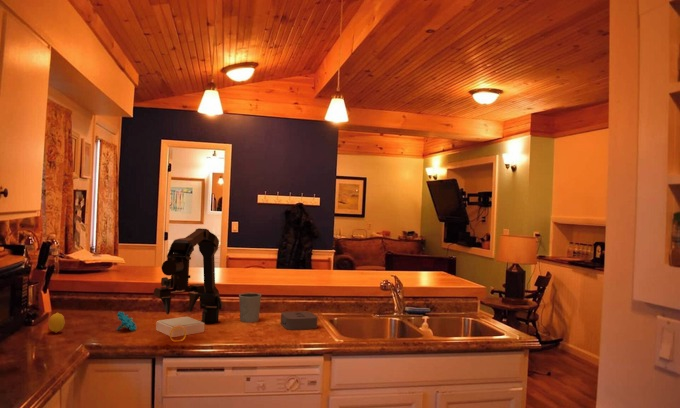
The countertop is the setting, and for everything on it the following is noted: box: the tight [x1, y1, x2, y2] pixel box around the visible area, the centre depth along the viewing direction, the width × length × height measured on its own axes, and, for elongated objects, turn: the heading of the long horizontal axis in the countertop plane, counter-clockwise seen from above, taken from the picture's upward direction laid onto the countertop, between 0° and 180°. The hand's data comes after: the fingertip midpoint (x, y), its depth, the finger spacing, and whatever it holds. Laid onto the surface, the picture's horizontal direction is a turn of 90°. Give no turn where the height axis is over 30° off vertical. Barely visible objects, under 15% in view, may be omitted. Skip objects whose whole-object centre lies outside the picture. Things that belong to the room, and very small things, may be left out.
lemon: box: [47, 312, 66, 334], centre depth 188 cm, size 6×6×8 cm
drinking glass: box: [238, 292, 262, 324], centre depth 223 cm, size 10×10×12 cm
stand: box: [155, 316, 206, 338], centre depth 199 cm, size 14×14×4 cm
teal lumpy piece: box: [116, 311, 137, 332], centre depth 197 cm, size 11×6×10 cm
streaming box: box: [280, 310, 319, 331], centre depth 217 cm, size 14×14×5 cm
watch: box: [169, 325, 187, 343], centre depth 184 cm, size 6×3×6 cm, turn 114°
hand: (179, 312), depth 184 cm, fingers open, 9 cm apart
